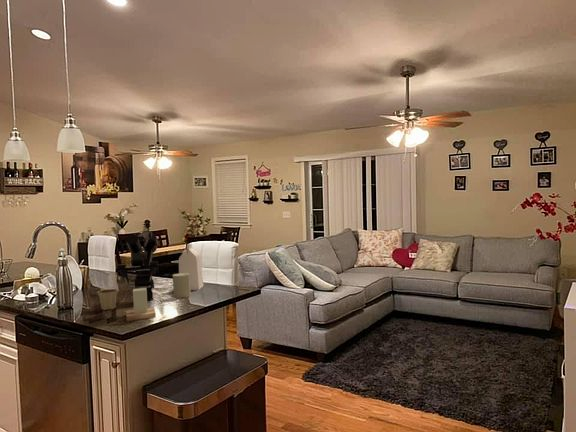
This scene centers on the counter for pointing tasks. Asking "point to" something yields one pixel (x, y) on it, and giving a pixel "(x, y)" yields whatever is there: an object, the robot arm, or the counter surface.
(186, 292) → the olive grey block
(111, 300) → the flower pot
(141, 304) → the canister
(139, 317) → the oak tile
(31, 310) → the counter surface
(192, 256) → the milk
